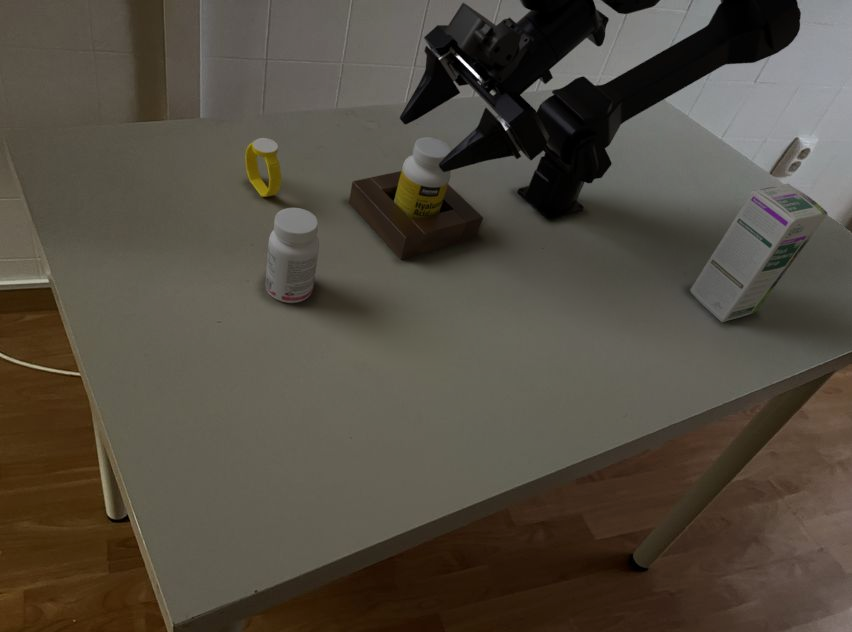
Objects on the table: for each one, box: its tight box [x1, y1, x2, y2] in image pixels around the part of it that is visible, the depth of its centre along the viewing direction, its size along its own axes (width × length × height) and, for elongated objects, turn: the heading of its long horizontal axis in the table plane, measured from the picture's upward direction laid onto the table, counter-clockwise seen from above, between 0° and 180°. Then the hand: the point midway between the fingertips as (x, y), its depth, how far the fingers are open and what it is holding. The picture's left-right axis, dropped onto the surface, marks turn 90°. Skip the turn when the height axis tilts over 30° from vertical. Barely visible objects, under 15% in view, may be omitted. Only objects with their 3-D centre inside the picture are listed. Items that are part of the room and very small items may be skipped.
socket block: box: [348, 170, 484, 261], centre depth 82 cm, size 11×11×3 cm
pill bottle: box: [265, 207, 320, 304], centre depth 68 cm, size 5×5×8 cm
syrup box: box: [689, 183, 828, 323], centre depth 78 cm, size 6×6×14 cm
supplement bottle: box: [394, 136, 452, 220], centre depth 80 cm, size 5×5×10 cm
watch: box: [244, 137, 282, 198], centre depth 80 cm, size 6×3×6 cm, turn 35°
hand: (420, 144), depth 75 cm, fingers open, 9 cm apart
